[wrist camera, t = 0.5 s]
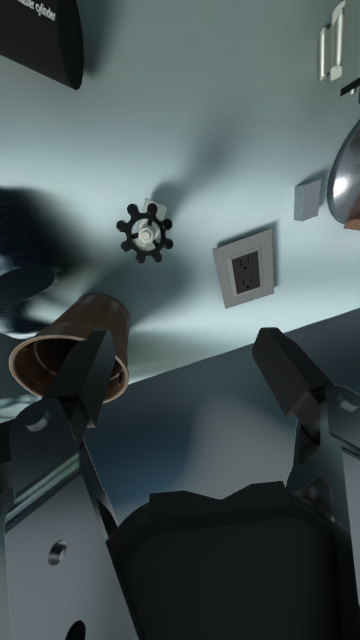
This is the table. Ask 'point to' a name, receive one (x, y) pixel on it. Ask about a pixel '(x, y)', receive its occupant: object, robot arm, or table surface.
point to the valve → (146, 230)
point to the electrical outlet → (246, 268)
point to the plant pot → (63, 334)
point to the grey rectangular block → (307, 200)
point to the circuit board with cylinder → (44, 38)
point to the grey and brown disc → (346, 182)
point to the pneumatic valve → (341, 47)
